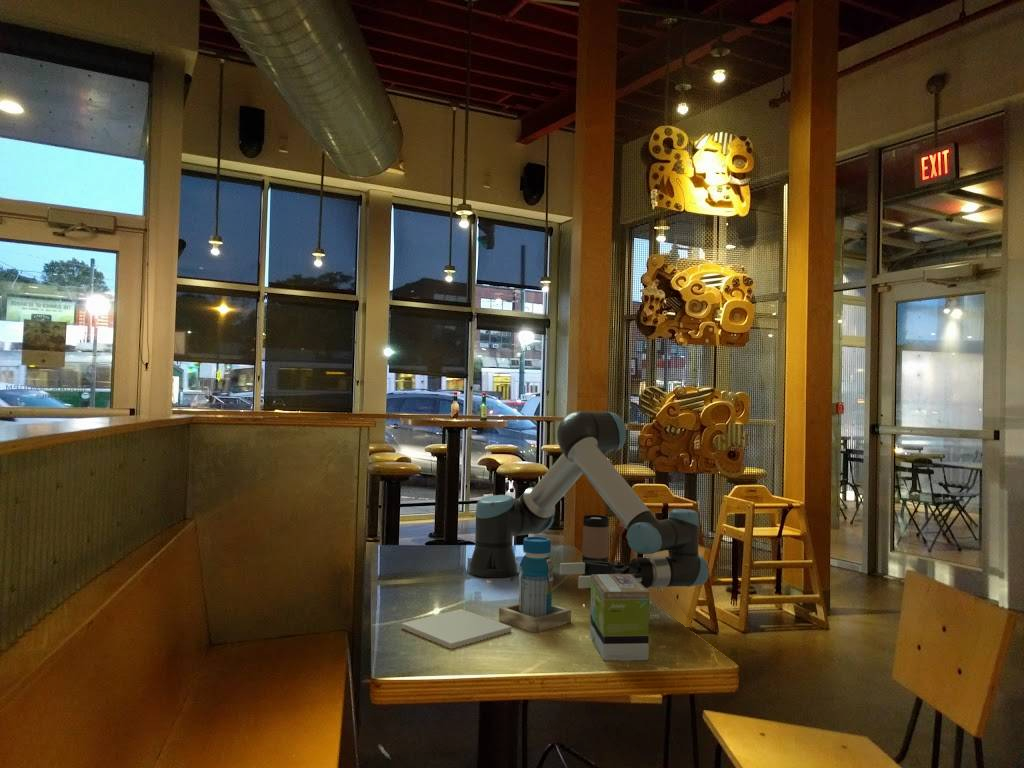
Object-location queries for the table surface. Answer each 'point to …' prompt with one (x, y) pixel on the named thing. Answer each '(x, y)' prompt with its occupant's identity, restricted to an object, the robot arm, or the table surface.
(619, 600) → the tea box
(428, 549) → the table surface
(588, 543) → the travel mug
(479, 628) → the serving board
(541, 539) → the beverage bottle
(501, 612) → the collar
